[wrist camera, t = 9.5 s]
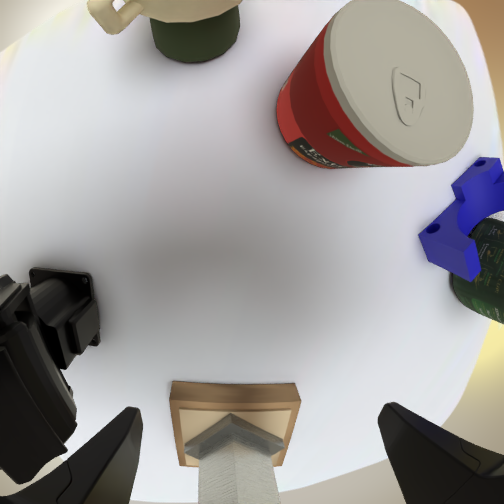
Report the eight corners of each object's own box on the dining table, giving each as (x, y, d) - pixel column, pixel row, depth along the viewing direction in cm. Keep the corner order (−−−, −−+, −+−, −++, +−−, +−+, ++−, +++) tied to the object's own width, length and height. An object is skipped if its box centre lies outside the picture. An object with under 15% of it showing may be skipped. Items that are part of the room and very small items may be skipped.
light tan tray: (181, 449, 25) (179, 467, 22) (172, 380, 23) (168, 401, 20) (278, 449, 26) (282, 468, 24) (294, 383, 24) (302, 403, 21)
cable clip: (478, 157, 21) (521, 159, 15) (490, 194, 22) (531, 202, 16) (411, 220, 21) (458, 235, 16) (427, 260, 23) (470, 282, 17)
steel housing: (184, 443, 21) (178, 542, 11) (230, 412, 21) (241, 528, 10) (236, 466, 23) (245, 553, 12) (282, 438, 22) (307, 535, 12)
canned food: (278, 171, 19) (342, 163, 9) (269, 66, 17) (312, -24, 7) (374, 169, 20) (483, 172, 9) (363, 74, 18) (454, 21, 7)
